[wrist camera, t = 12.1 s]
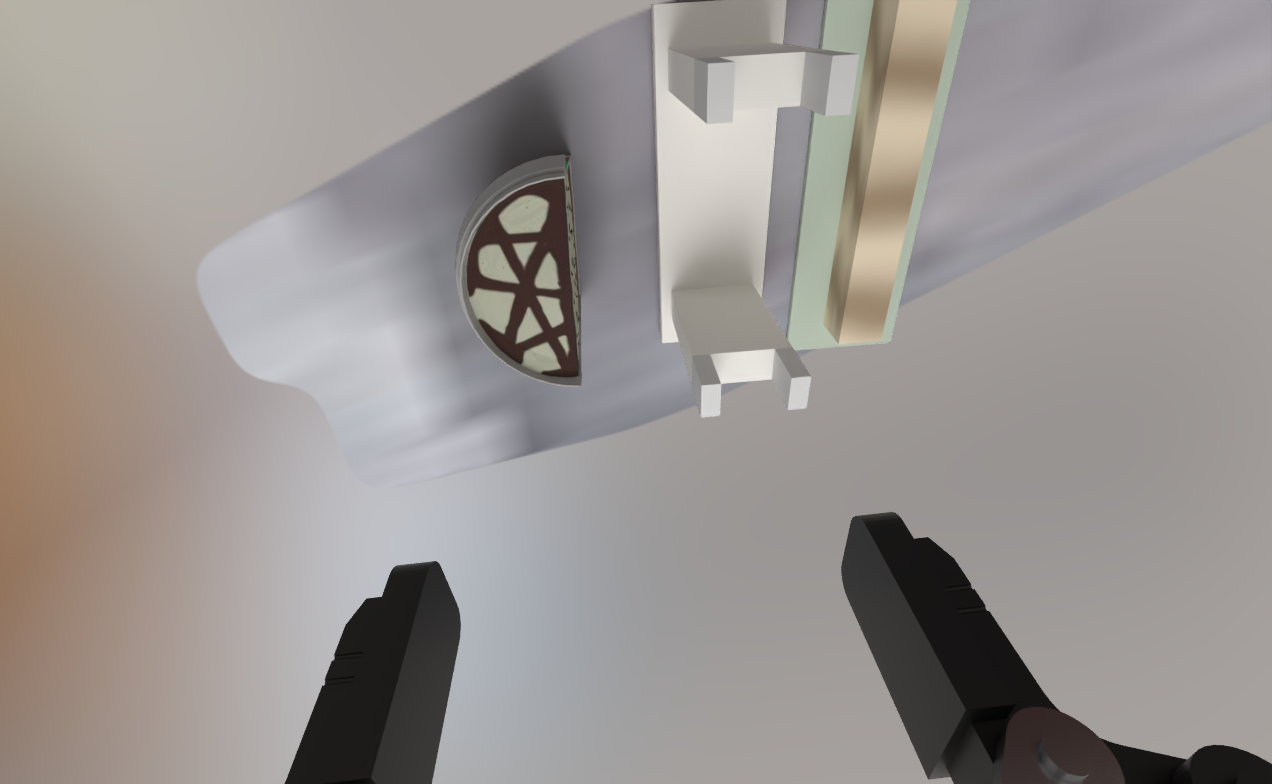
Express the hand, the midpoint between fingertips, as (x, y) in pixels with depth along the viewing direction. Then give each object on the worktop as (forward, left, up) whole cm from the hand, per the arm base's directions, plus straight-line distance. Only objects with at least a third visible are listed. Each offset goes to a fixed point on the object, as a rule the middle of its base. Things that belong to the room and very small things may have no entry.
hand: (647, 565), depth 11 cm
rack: (+1, +7, -29) cm, 30 cm away
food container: (+2, -5, -29) cm, 30 cm away
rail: (+1, +17, -29) cm, 33 cm away
